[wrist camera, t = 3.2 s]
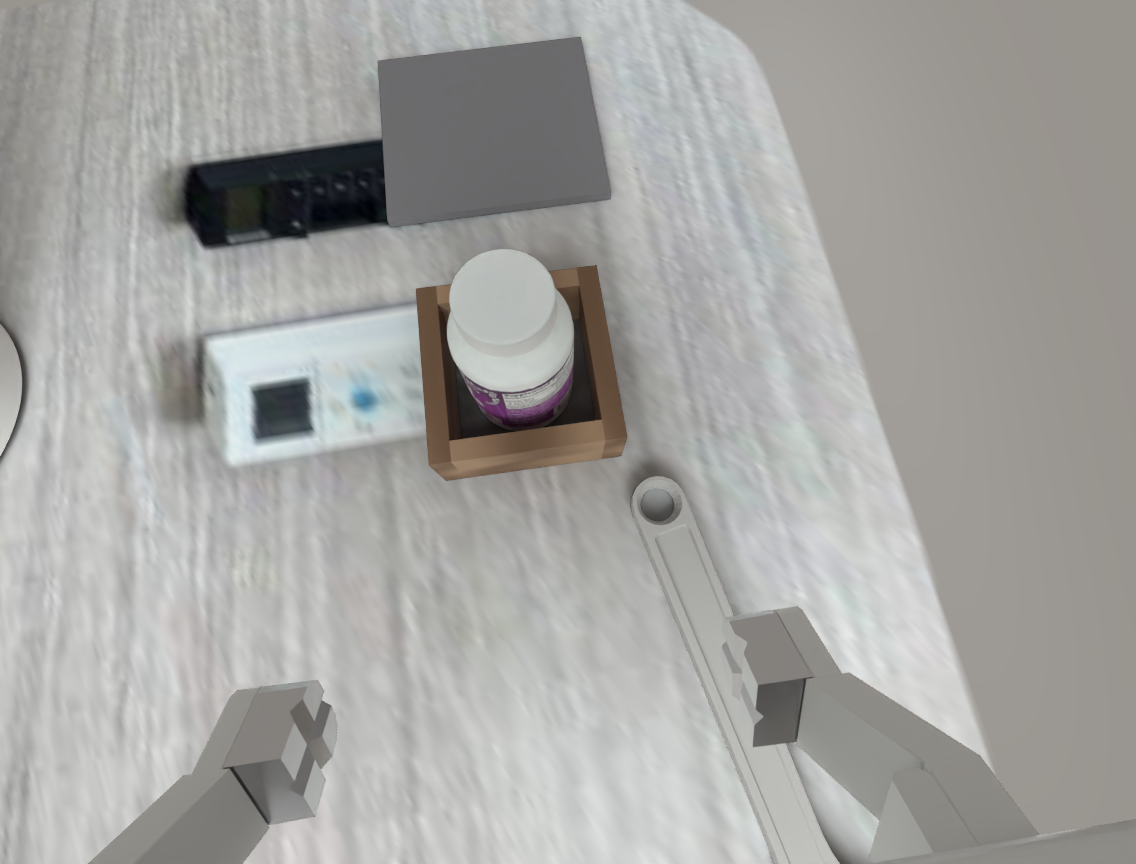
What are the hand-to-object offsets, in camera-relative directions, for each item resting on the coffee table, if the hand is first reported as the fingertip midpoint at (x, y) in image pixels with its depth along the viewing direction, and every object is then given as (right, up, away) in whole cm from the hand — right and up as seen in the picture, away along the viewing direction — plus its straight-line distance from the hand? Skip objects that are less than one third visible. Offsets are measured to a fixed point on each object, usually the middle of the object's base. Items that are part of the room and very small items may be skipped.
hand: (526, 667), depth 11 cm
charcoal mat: (-4, +23, +23) cm, 33 cm away
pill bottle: (-2, +7, +19) cm, 20 cm away
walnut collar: (-2, +7, +19) cm, 20 cm away
